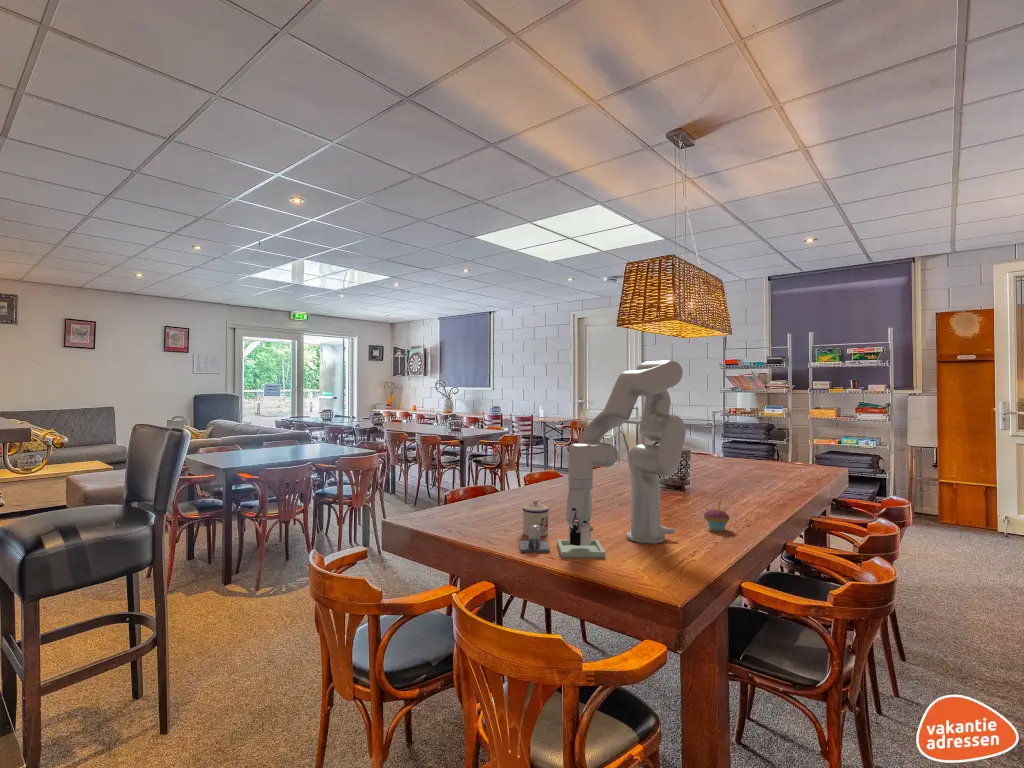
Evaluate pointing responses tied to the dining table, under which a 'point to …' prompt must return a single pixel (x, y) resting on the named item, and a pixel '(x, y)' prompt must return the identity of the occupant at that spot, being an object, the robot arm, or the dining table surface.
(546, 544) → the post stand
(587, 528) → the white earbud case
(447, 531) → the dining table surface
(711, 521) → the cupcake
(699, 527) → the dining table surface
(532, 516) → the teacup with lid
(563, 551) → the tray
